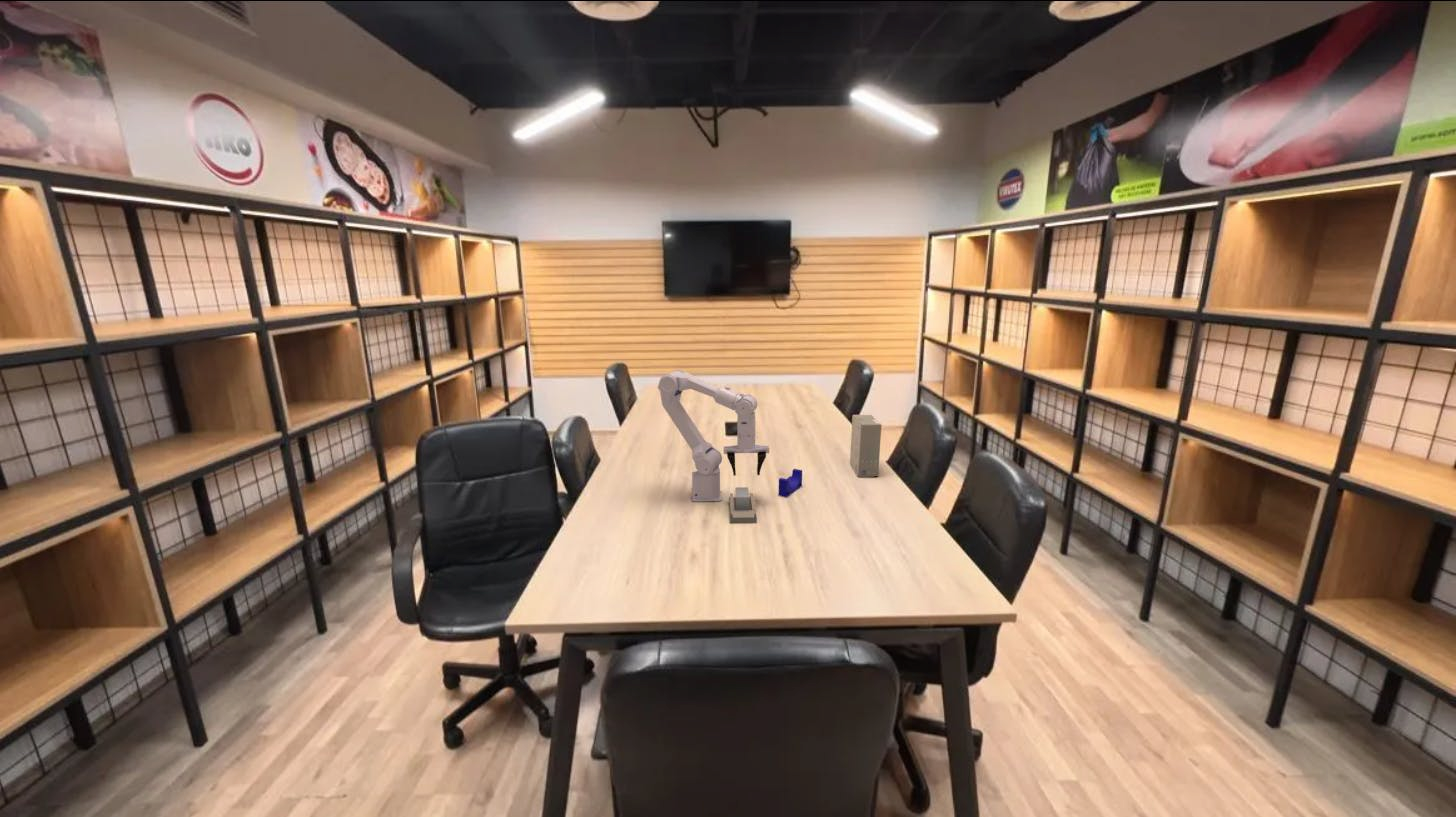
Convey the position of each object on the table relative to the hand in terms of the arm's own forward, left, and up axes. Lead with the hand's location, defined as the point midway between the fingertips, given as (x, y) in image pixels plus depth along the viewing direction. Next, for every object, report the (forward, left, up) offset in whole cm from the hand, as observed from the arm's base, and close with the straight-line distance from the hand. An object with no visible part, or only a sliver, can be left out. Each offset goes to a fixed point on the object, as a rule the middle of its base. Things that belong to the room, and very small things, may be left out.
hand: (746, 474), depth 179 cm
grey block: (-2, -8, -8) cm, 11 cm away
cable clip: (+15, +9, -10) cm, 20 cm away
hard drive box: (+46, +28, -10) cm, 54 cm away
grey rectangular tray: (-2, -8, -9) cm, 12 cm away
